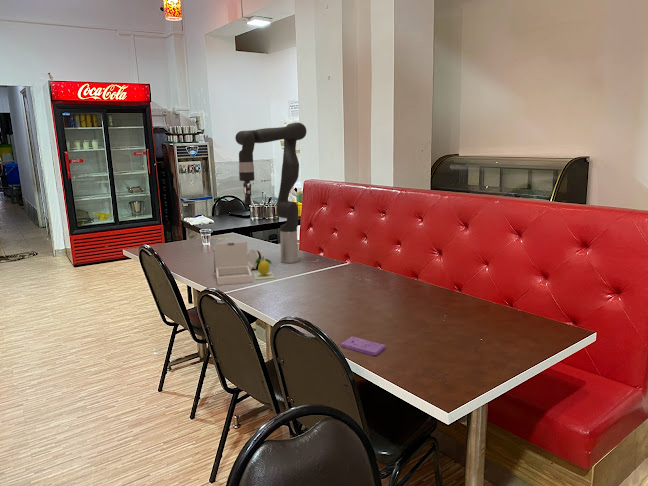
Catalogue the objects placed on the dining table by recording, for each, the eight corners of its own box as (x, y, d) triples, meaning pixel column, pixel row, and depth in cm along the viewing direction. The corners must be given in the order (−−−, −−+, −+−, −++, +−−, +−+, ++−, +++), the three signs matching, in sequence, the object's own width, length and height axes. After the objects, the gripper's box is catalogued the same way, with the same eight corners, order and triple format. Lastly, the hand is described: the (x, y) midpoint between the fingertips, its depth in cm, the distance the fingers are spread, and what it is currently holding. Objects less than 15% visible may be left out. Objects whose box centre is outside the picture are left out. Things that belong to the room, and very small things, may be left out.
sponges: (352, 341, 162) (352, 336, 162) (385, 349, 155) (386, 344, 155) (340, 348, 157) (340, 343, 156) (375, 357, 150) (375, 352, 149)
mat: (271, 272, 246) (271, 271, 246) (274, 278, 236) (274, 277, 236) (253, 274, 244) (253, 273, 244) (255, 280, 234) (255, 279, 234)
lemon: (255, 276, 238) (254, 256, 236) (258, 273, 243) (257, 254, 241) (268, 277, 237) (268, 257, 235) (271, 274, 242) (271, 254, 240)
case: (248, 271, 250) (246, 241, 246) (252, 282, 230) (250, 250, 227) (214, 274, 246) (212, 243, 243) (215, 285, 226) (213, 252, 223)
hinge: (242, 263, 266) (248, 246, 265) (250, 265, 268) (256, 248, 267) (250, 270, 251) (256, 252, 250) (259, 272, 253) (264, 254, 252)
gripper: (255, 171, 241) (256, 204, 244) (252, 170, 255) (253, 201, 258) (240, 172, 239) (241, 205, 243) (238, 170, 253) (239, 201, 256)
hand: (247, 203), depth 250 cm, fingers open, 8 cm apart
